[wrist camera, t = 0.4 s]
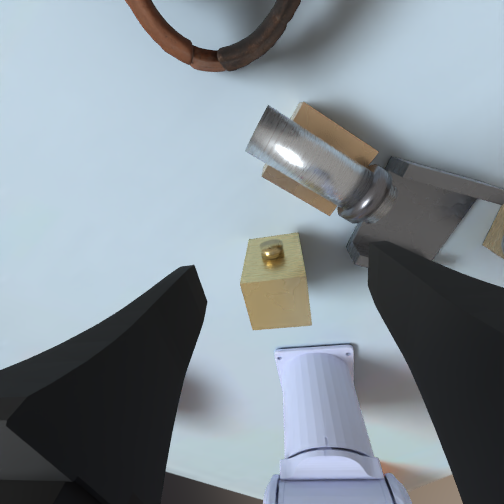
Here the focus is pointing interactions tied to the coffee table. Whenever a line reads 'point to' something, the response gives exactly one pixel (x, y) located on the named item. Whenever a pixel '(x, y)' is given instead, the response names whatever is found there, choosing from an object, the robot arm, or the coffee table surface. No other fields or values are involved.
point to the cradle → (421, 210)
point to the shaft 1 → (322, 164)
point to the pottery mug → (225, 56)
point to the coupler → (275, 283)
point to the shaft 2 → (496, 235)
